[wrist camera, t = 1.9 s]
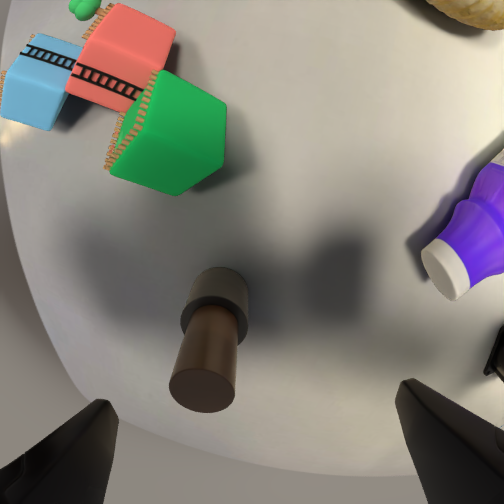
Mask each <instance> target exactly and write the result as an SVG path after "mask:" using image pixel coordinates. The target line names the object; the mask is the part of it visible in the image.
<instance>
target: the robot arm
mask: <svg viewBox="0 0 504 504" xmlns="http://www.w3.org/2000/svg"><path fill="white" fill-rule="evenodd" d="M494 372H495V373H496V374H497V376H498V377H499V378H500V379H501V380H502V381H503V383H504V326H503V327H502V328H501V329H500V331H499V334H498V337H497V340H496V343H495V346H494V348H493V351H492V353H491V356H490V359H489V361H488V363H487V366H486V368H485V371H484V375H485V376H488V375H490V374H492V373H494ZM395 405H396V408H397V412H398V415H399V419H400V423H401V426H402V430H403V434H404V438H405V441H406V444H407V447H408V450H409V452H410V455H411V457H412V460H413V463H414V465H415V468H416V471H417V473H418V476H419V479H420V481H421V484H422V487H423V490H424V492H425V495H426V498H427V501H428V504H504V431H503V430H502V429H500V428H498V427H496V426H494V425H493V424H491V423H489V422H487V421H486V420H484V419H482V418H481V417H479V416H477V415H475V414H474V413H472V412H470V411H468V410H467V409H465V408H463V407H462V406H460V405H458V404H456V403H455V402H453V401H451V400H450V399H448V398H446V397H445V396H443V395H441V394H440V393H438V392H436V391H435V390H433V389H431V388H430V387H428V386H426V385H425V384H423V383H421V382H420V381H418V380H416V379H414V378H411V379H407V380H403V381H402V382H401V383H400V386H399V389H398V392H397V395H396V398H395ZM118 424H119V419H118V416H117V414H116V412H115V410H114V408H113V406H112V405H111V403H110V401H108V400H105V399H96V400H94V401H93V402H92V403H90V404H89V405H88V406H87V407H85V408H84V409H83V410H81V411H80V412H79V413H77V414H76V415H75V416H73V417H72V418H71V419H69V420H68V421H67V422H65V423H64V424H63V425H62V426H60V427H59V428H58V429H56V430H55V431H54V432H52V433H51V434H49V435H48V436H47V437H45V438H44V439H43V440H41V441H40V442H39V443H37V444H36V445H35V446H33V447H32V448H31V449H29V450H28V451H26V452H25V454H22V455H21V456H19V457H18V458H17V459H15V460H14V461H12V462H11V463H9V464H8V465H7V466H5V467H3V468H2V469H0V504H103V502H104V497H105V493H106V488H107V484H108V480H109V475H110V471H111V467H112V463H113V458H114V451H115V443H116V436H117V429H118Z"/></svg>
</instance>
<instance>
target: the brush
mask: <svg viewBox="0 0 504 504" xmlns="http://www.w3.org/2000/svg"><path fill="white" fill-rule="evenodd" d="M181 328H182V331H183V333H184V339H183V342H182V345H181V348H180V351H179V354H178V357H177V360H176V363H175V366H174V369H173V372H172V376H171V379H170V382H169V390H170V393H171V395H172V397H173V398H174V399H175V400H176V401H177V402H178V403H179V404H180V405H182V406H183V407H185V408H187V409H189V410H192V411H195V412H201V413H213V412H218V411H221V410H224V409H225V408H227V407H228V406H229V405H230V404H231V403H232V402H233V400H234V397H235V382H236V363H237V346H238V345H239V344H240V343H241V342H242V341H243V340H244V338H245V336H246V334H247V331H248V288H247V285H246V283H245V281H244V279H243V278H242V277H241V276H240V275H239V274H238V273H236V272H235V271H233V270H231V269H228V268H223V267H215V268H211V269H208V270H206V271H204V272H202V273H201V274H200V275H199V276H198V277H197V279H196V280H195V282H194V285H193V287H192V289H191V292H190V294H189V297H188V299H187V302H186V304H185V307H184V309H183V312H182V315H181Z"/></svg>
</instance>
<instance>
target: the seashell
mask: <svg viewBox="0 0 504 504" xmlns="http://www.w3.org/2000/svg"><path fill="white" fill-rule="evenodd" d="M426 1H427V2H428V3H429V4H433V6H435V7H436V8H437V9H438V10H439V11H441V12H444V13H445V14H446V15H447V16H449V17H450V18H455V19H456V20H457V21H459V22H461V23H464V24H467V25H470V26H473V27H476V28H482V29H484V30H492V31H494V30H501V29H504V0H426Z"/></svg>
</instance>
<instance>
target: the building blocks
mask: <svg viewBox="0 0 504 504" xmlns="http://www.w3.org/2000/svg"><path fill="white" fill-rule="evenodd" d="M100 5H101V0H71V1H70V3H69V10H70V12H72V13H74V14H75V16H76V18H77V19H78V20H80V21H86V20H89V19H90V18H92V17H93V16H94V15H95V14H97V15H99V16H98V19H97V18H96V20H95V21H94V22H93V23H92V25H91V26H90V27H89V30H91V31H89V30H87V31H86V32H85V34H84V35H83V36H82V38H84V39H87V41H86V43H85V45H84V47H83V48H82V47H80V46H77V45H74V44H71V43H68V42H66V41H63V40H60V39H57V38H54V37H51V36H47V35H44V34H40V33H38V34H37V35H31V38H33V39H30V40H29V42H30V43H29V44H27V45H26V47H25V49H24V50H23V51H22V52H20V55H19V56H18V57H17V59H16V60H15V61H14V63H13V64H12V65H11V67H10V68H9V69H8V71H2V73H1V74H4V75H5V76H3V75H2V76H1V78H0V79H3V80H4V81H3V80H1V81H0V84H4V86H3V85H0V88H1V89H3V90H1V89H0V93H2V94H0V97H1V98H2V99H1V98H0V106H1V107H0V115H1V117H3V118H6V119H10V120H13V121H17V122H20V123H23V124H26V125H30V126H33V127H36V128H39V129H43V130H46V131H50V130H51V129H52V128H53V126H54V124H55V121H56V119H57V117H58V115H59V113H60V111H61V108H62V106H63V104H64V102H65V100H66V98H67V96H68V95H69V93H70V94H73V95H76V96H78V97H81V98H84V99H86V100H89V101H92V102H95V103H97V104H100V105H102V106H105V107H108V108H110V109H113V110H115V111H118V112H120V114H119V115H122V116H124V118H122V117H118V120H119V121H122V122H123V123H119V122H117V123H116V126H119V127H121V129H119V128H116V127H115V129H114V131H116V132H115V133H113V135H112V137H115V138H117V141H116V140H113V139H111V142H110V143H113V144H116V146H114V145H110V146H109V148H108V149H111V150H109V152H107V155H108V156H110V158H109V159H108V158H106V159H105V162H106V165H104V167H103V169H106V170H109V172H110V174H111V175H113V176H116V177H119V178H122V179H125V180H128V181H131V182H134V183H137V184H140V185H143V186H145V187H148V188H151V189H154V190H157V191H160V192H163V193H166V194H169V195H172V196H178V195H180V194H182V193H183V192H185V191H186V190H188V189H189V188H191V187H192V186H194V185H195V184H197V183H198V182H200V181H201V180H203V179H204V178H206V177H207V176H209V175H210V174H212V173H214V172H215V171H217V170H218V169H220V168H221V167H222V166H223V163H224V151H225V130H226V111H227V107H226V104H225V103H224V102H222V101H221V100H219V99H217V98H215V97H214V96H212V95H210V94H208V93H207V92H205V91H203V90H201V89H200V88H198V87H196V86H194V85H192V84H191V83H189V82H187V81H185V80H183V79H181V78H179V77H177V76H176V75H174V74H172V73H170V72H168V71H165V70H163V68H164V65H165V62H166V59H167V56H168V54H169V51H170V48H171V45H172V43H173V40H174V37H175V35H176V31H175V30H174V29H173V28H171V27H169V26H167V25H165V24H163V23H161V22H159V21H157V20H155V19H153V18H151V17H149V16H147V15H145V14H143V13H141V12H139V11H137V10H135V9H132V8H130V7H128V6H126V5H123V4H120V3H117V4H115V5H114V4H111V3H110V4H109V5H108V6H107V7H106V9H102V8H99V7H100ZM99 19H100V20H99ZM95 22H96V23H95ZM98 23H99V24H98ZM92 26H94V27H92ZM95 27H96V28H95ZM92 31H93V32H92ZM86 34H88V35H90V36H88V35H86ZM118 134H119V135H118ZM112 150H113V151H114V152H113V151H112ZM112 152H113V153H112ZM107 165H108V166H107Z"/></svg>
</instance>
